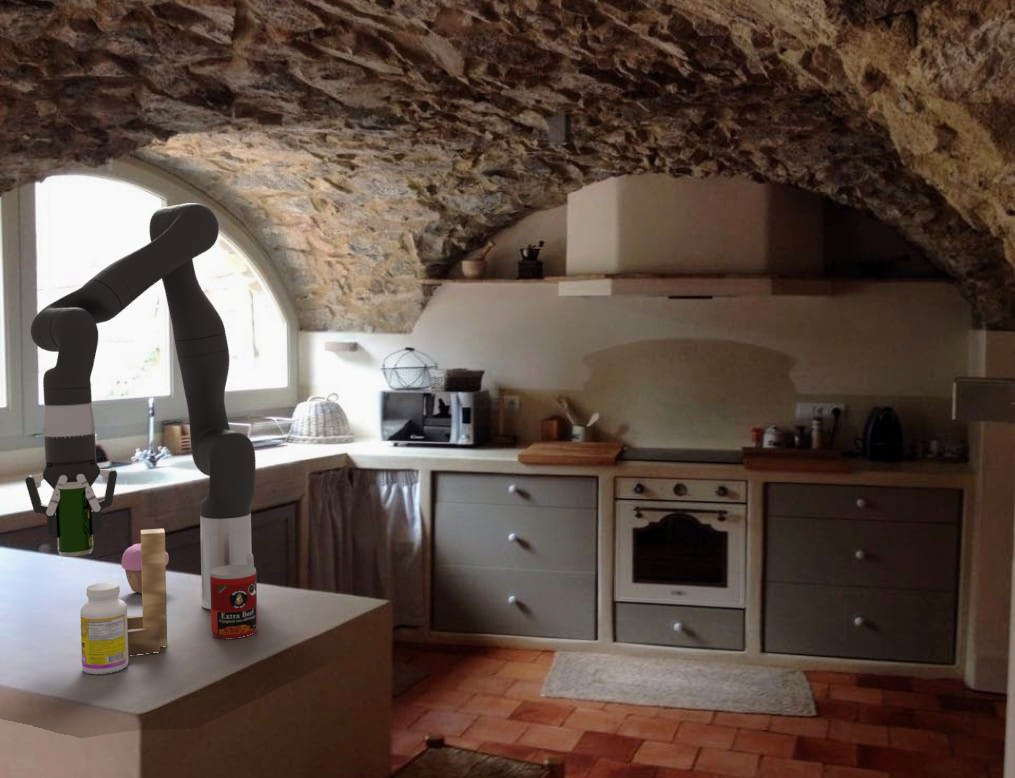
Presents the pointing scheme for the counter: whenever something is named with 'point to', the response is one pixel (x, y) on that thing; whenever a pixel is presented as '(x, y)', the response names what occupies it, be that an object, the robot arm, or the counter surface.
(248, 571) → the canned food
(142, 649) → the channel
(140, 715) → the counter surface
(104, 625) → the supplement bottle
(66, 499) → the beer can
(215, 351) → the robot arm
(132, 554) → the cupcake
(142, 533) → the bar
